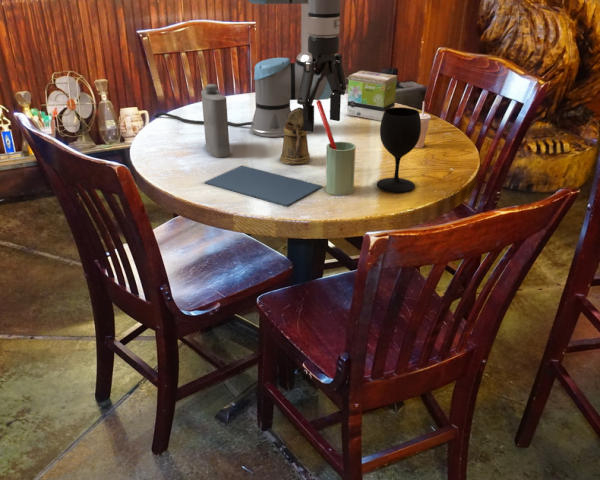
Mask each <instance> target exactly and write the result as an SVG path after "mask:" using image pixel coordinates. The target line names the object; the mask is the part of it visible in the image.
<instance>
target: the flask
mask: <svg viewBox="0 0 600 480" xmlns="http://www.w3.org/2000/svg"><path fill="white" fill-rule="evenodd" d="M200 92H201V94H200V95H201V103H202V117H203V121H204V124H203V127H204V139H205V149H206V151H207V153H209V154H210V155H211V156H213V157H215V158H218V159H219V158H220V159H222V158H223V159H225V158H227V157H230V155H231V154H230V153H231V151H230V150H231V149H230V136H229V125H228V122H229V120H228V119H229V118H228V105H227V103H228V102H227V96H225V95H223V94H221V93H219V89H218V85H216V84H215V83H208V84H206V85H205V88H203V89H202V90H201V91H200Z"/></svg>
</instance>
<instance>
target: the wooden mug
mask: <svg viewBox="0 0 600 480" xmlns="http://www.w3.org/2000/svg"><path fill="white" fill-rule="evenodd" d="M308 134H309V132H307V131H303V107H296V108H294V109H292V110H291V112H290V113H289V114H288V121H287V122H286V123H285V127H284V136H283V141H282V148H281V153H280V158H279V161H280V162H281V163H284V164H286V165H292V166H296V165H297V166H298V165H299V166H300V165H305V164H307V163H310V161H311V154H310V151H309V145H308V138H307V137H308V136H307V135H308Z"/></svg>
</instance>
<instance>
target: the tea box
mask: <svg viewBox="0 0 600 480" xmlns="http://www.w3.org/2000/svg"><path fill="white" fill-rule="evenodd" d="M397 81H398V74H397V75H396V74H389V73H382V72H375V71H368V70H359V71H357V72H354V73H352V74H349V75H348V88H347V106H346V114H347V116H351V117H352V116H354V117H357V118H358V117H359V118H363V119H368V120H374V121H379V122H381V121H382V117H383V115H384V112H385V110H386V109H389V108H395V105H396V94H397Z"/></svg>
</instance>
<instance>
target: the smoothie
mask: <svg viewBox="0 0 600 480" xmlns="http://www.w3.org/2000/svg"><path fill="white" fill-rule="evenodd" d="M425 104H426V101H422V107H421V108H422V110H421V112H419V114H420V120H421V133H420V138H419V140H418V143H417V144H416V146H415V147H414V149H415V148H417V149H421V148H424V146H425V142H426V137H427V133H428V130H429V129H428V128H429V124H430V121H431V120H432V115H430V114H428V113H425Z"/></svg>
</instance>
